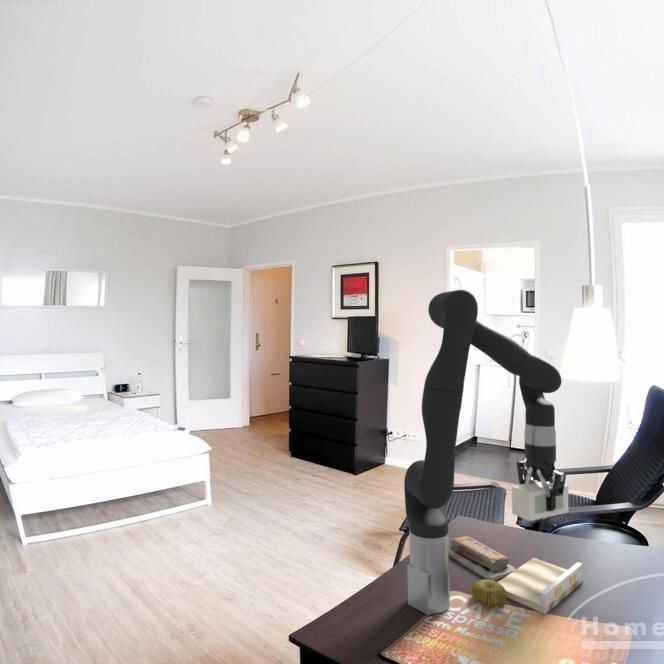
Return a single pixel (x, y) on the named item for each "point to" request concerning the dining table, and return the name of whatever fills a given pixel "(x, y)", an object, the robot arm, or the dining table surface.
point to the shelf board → (534, 584)
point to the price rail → (561, 584)
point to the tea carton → (536, 501)
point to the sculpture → (489, 593)
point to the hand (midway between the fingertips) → (540, 506)
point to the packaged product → (480, 558)
